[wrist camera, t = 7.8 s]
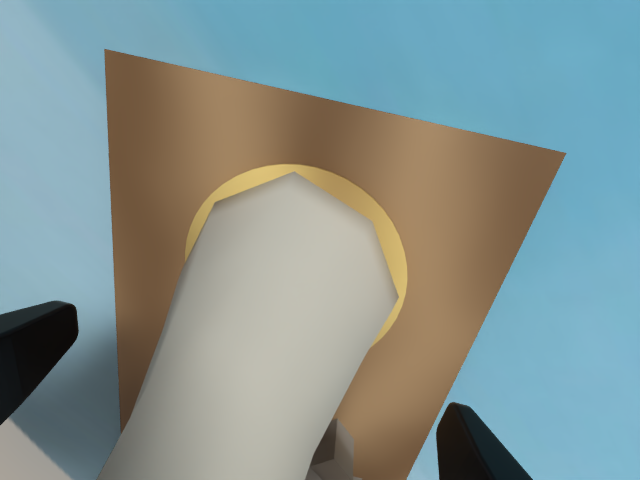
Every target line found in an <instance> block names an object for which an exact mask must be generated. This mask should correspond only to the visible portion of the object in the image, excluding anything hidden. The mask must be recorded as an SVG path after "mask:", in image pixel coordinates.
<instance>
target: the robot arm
mask: <svg viewBox="0 0 640 480" xmlns="http://www.w3.org/2000/svg"><path fill="white" fill-rule="evenodd" d="M78 332H79V330H78V320H77V310H76V307H75V306H74V305H73V304H70V303H66V302H62V301H51V302H47V303H43V304H39V305H35V306H31V307H28V308H24V309H20V310H16V311H12V312H8V313H5V314H1V315H0V425H1V424H2V423H3V422H4V421H5V420H6V419H7V418H8V417H9V416H10V415H11V414H12V413H13V412H14V411H15V410H16V409H17V408H18V407H19V406H20V405H21V404H22V403H23V402H24V401H25V400H26V398H27V397H28V396H29V395H30V394H31V393H32V392H33V391H34V389H35V388H36V387H37V386H38V385H39V384H40V382H41V381H42V380H43V379H44V378H45V376H46V375H47V374H48V373H49V372H50V371H51V369H52V368H53V367H54V366H55V365H56V363H57V362H58V361H59V360H60V359H61V358H62V356H63V355H64V354H65V353H66V352H67V351H68V349H69V348H70V347H71V346H72V345H73V343H74V342H75V340H76V339H77V336H78ZM436 440H437V453H438V467H439V480H533V479H532V478H531V477H530V476H529V475H528V473H527V472H526V471H525V470H524V469H523V468H522V466H521V465H520V464H519V463H518V462H517V461H516V459H515V458H514V457H513V456H512V455H511V454H510V452H509V451H508V450H507V449H506V448H505V447H504V445H503V444H502V443H501V442H500V441H499V440H498V438H497V437H496V436H495V435H494V434H493V433H492V432H491V430H490V429H489V428H488V427H487V426H486V425H485V423H484V422H483V421H482V420H481V419H480V418H479V416H478V415H477V414H476V413H475V412H474V411H473V410H472V409H471V408H470V407H469V406H467V405H463V404H459V403H455V402H452V403H450V404H449V405H448V406H447V408H446V410H445V412H444V414H443V416H442V418H441V420H440V422H439V424H438V427H437V432H436Z"/></svg>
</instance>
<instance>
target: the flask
mask: <svg viewBox="0 0 640 480" xmlns="http://www.w3.org/2000/svg"><path fill="white" fill-rule="evenodd" d="M398 298H399V296H398V293H397V290H396V287H395V284H394V281H393V279H392V276H391V273H390V270H389V267H388V264H387V261H386V259H385V256H384V253H383V250H382V247H381V244H380V242H379V239H378V236H377V233H376V230H375V227H374V224H373V222H372V221H371V220H370V219H368V218H367V217H365V216H364V215H362V214H360V213H359V212H357V211H356V210H354V209H353V208H351V207H349V206H348V205H346V204H345V203H343V202H342V201H340V200H338V199H337V198H335V197H334V196H332V195H331V194H329V193H328V192H326V191H324V190H323V189H321V188H320V187H318V186H317V185H315V184H313V183H312V182H310V181H309V180H307V179H306V178H304V177H303V176H301V175H299V174H298V173H296V172H295V171H294V172H291V173H289V174H286V175H283V176H281V177H278V178H276V179H273V180H271V181H268V182H265V183H263V184H260V185H258V186H255V187H253V188H250V189H247V190H245V191H242V192H240V193H237V194H235V195H232V196H229V197H227V198H224V199H222V200H219V201H217V202H215V203H214V205H213V207H212V209H211V211H210V213H209V215H208V217H207V219H206V221H205V223H204V225H203V227H202V229H201V231H200V233H199V235H198V238H197V240H196V242H195V244H194V246H193V248H192V250H191V252H190V254H189V256H188V258H187V260H186V262H185V264H184V266H183V268H182V271H181V274H180V276H179V279H178V282H177V285H176V288H175V292H174V295H173V298H172V301H171V305H170V308H169V311H168V314H167V318H166V321H165V324H164V327H163V330H162V333H161V336H160V338H159V341H158V344H157V347H156V349H155V352H154V355H153V357H152V360H151V363H150V365H149V368H148V371H147V374H146V376H145V379H144V382H143V384H142V387H141V390H140V392H139V395H138V398H137V401H136V403H135V406H134V409H133V411H132V414H131V417H130V419H129V421H128V423H127V424H126V426H125V428H124V430H123V432H122V434H121V435H120V437H119V439H118V441H117V443H116V445H115V446H114V448H113V450H112V452H111V454H110V456H109V457H108V459H107V461H106V463H105V465H104V467H103V468H102V470H101V472H100V474H99V476H98V478H97V479H96V480H305V478H306V475H307V472H308V469H309V466H310V463H311V460H312V457H313V454H314V452H315V450H316V448H317V447H318V445H319V443H320V441H321V439H322V437H323V435H324V433H325V431H326V429H327V427H328V426H329V424H330V422H331V420H332V418H333V416H334V414H335V412H336V410H337V408H338V406H339V404H340V403H341V401H342V399H343V397H344V395H345V393H346V391H347V389H348V387H349V385H350V383H351V382H352V380H353V378H354V376H355V374H356V372H357V370H358V368H359V366H360V364H361V362H362V361H363V359H364V357H365V355H366V354H367V352H368V350H369V349H370V347H371V345H372V344H373V342H374V340H375V338H376V337H377V335H378V333H379V332H380V330H381V328H382V327H383V325H384V323H385V322H386V320H387V318H388V317H389V315H390V313H391V312H392V310H393V308H394V306H395V304H396V302H397V300H398Z"/></svg>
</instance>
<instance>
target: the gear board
mask: <svg viewBox="0 0 640 480" xmlns="http://www.w3.org/2000/svg"><path fill="white" fill-rule="evenodd" d="M104 51H105V75H106V98H107V121H108V144H109V167H110V191H111V214H112V237H113V260H114V284H115V307H116V330H117V353H118V377H119V400H120V423H121V434H122V432H123V430H124V428H125V426H126V424H127V423H128V421H129V419H130V417H131V414H132V411H133V409H134V406H135V403H136V401H137V398H138V395H139V392H140V390H141V387H142V384H143V382H144V379H145V376H146V374H147V371H148V368H149V365H150V363H151V360H152V357H153V355H154V352H155V349H156V347H157V344H158V341H159V338H160V336H161V333H162V330H163V327H164V324H165V321H166V318H167V314H168V311H169V308H170V305H171V301H172V298H173V295H174V292H175V288H176V285H177V282H178V279H179V276H180V274H181V271H182V268H183V266H184V264H185V262H186V260H187V258H188V256H189V254H190V252H191V250H192V248H193V246H194V244H195V242H196V240H197V238H198V235H199V233H200V231H201V229H202V227H203V225H204V223H205V221H206V219H207V217H208V215H209V213H210V211H211V209H212V207H213V205H214V203H215V202H217V201H219V200H222V199H224V198H227V197H229V196H232V195H235V194H237V193H240V192H242V191H245V190H247V189H250V188H253V187H255V186H258V185H260V184H263V183H265V182H268V181H271V180H273V179H276V178H278V177H281V176H283V175H286V174H289V173H291V172H294V171H295V172H296V173H298V174H299V175H301V176H303V177H304V178H306V179H307V180H309V181H310V182H312V183H313V184H315V185H317V186H318V187H320V188H321V189H323V190H324V191H326V192H328V193H329V194H331V195H332V196H334V197H335V198H337V199H338V200H340V201H342V202H343V203H345V204H346V205H348V206H349V207H351V208H353V209H354V210H356V211H357V212H359V213H360V214H362V215H364V216H365V217H367V218H368V219H370V220H371V221H372V222H373V224H374V227H375V230H376V233H377V236H378V239H379V242H380V244H381V247H382V250H383V253H384V256H385V259H386V261H387V264H388V267H389V270H390V273H391V276H392V279H393V281H394V284H395V287H396V290H397V293H398V296H399V298H398V300H397V302H396V304H395V306H394V308H393V310H392V312H391V313H390V315H389V317H388V318H387V320H386V322H385V323H384V325H383V327H382V328H381V330H380V332H379V333H378V335H377V337H376V338H375V340H374V342H373V344H372V345H371V347H370V349H369V350H368V352H367V354H366V355H365V357H364V359H363V361H362V362H361V364H360V366H359V368H358V370H357V372H356V374H355V376H354V378H353V380H352V382H351V383H350V385H349V387H348V389H347V391H346V393H345V395H344V397H343V399H342V401H341V403H340V404H339V406H338V408H337V410H336V412H335V414H334V416H333V418H332V420H331V422H330V424H329V426H328V427H327V429H326V431H325V433H324V435H323V437H322V439H321V441H320V443H319V445H318V447H317V448H316V450H315V452H314V454H313V457H312V460H311V463H310V466H309V469H308V472H307V475H306V478H305V480H406V479H407V477H408V475H409V473H410V471H411V469H412V466H413V464H414V462H415V460H416V458H417V456H418V454H419V452H420V450H421V448H422V446H423V444H424V442H425V440H426V438H427V436H428V434H429V432H430V430H431V428H432V426H433V424H434V422H435V420H436V418H437V416H438V414H439V411H440V409H441V407H442V405H443V403H444V401H445V399H446V397H447V395H448V393H449V391H450V389H451V387H452V385H453V383H454V381H455V379H456V377H457V375H458V373H459V371H460V369H461V367H462V365H463V363H464V361H465V359H466V357H467V354H468V352H469V350H470V348H471V346H472V344H473V342H474V340H475V338H476V336H477V334H478V332H479V330H480V328H481V326H482V324H483V322H484V320H485V318H486V316H487V314H488V312H489V310H490V308H491V306H492V304H493V302H494V299H495V297H496V295H497V293H498V291H499V289H500V287H501V285H502V283H503V281H504V279H505V277H506V275H507V273H508V271H509V269H510V267H511V265H512V263H513V261H514V259H515V257H516V255H517V253H518V251H519V249H520V247H521V244H522V242H523V240H524V238H525V236H526V234H527V232H528V230H529V228H530V226H531V224H532V222H533V220H534V218H535V216H536V214H537V212H538V210H539V208H540V206H541V204H542V202H543V200H544V198H545V196H546V194H547V192H548V190H549V187H550V185H551V183H552V181H553V179H554V177H555V175H556V173H557V171H558V169H559V167H560V165H561V163H562V161H563V159H564V157H565V155H566V153H564V152H559V151H555V150H550V149H546V148H541V147H537V146H533V145H528V144H524V143H519V142H515V141H510V140H506V139H502V138H497V137H493V136H488V135H484V134H479V133H475V132H471V131H466V130H462V129H457V128H453V127H448V126H444V125H440V124H435V123H431V122H426V121H422V120H417V119H413V118H408V117H404V116H400V115H395V114H391V113H386V112H382V111H377V110H373V109H369V108H364V107H360V106H355V105H351V104H346V103H342V102H338V101H333V100H329V99H324V98H320V97H315V96H311V95H307V94H302V93H298V92H293V91H289V90H284V89H280V88H275V87H271V86H267V85H262V84H258V83H253V82H249V81H244V80H240V79H236V78H231V77H227V76H222V75H218V74H213V73H209V72H205V71H200V70H196V69H191V68H187V67H182V66H178V65H174V64H169V63H165V62H160V61H156V60H151V59H147V58H142V57H138V56H134V55H129V54H125V53H120V52H116V51H111V50H107V49H104Z"/></svg>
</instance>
